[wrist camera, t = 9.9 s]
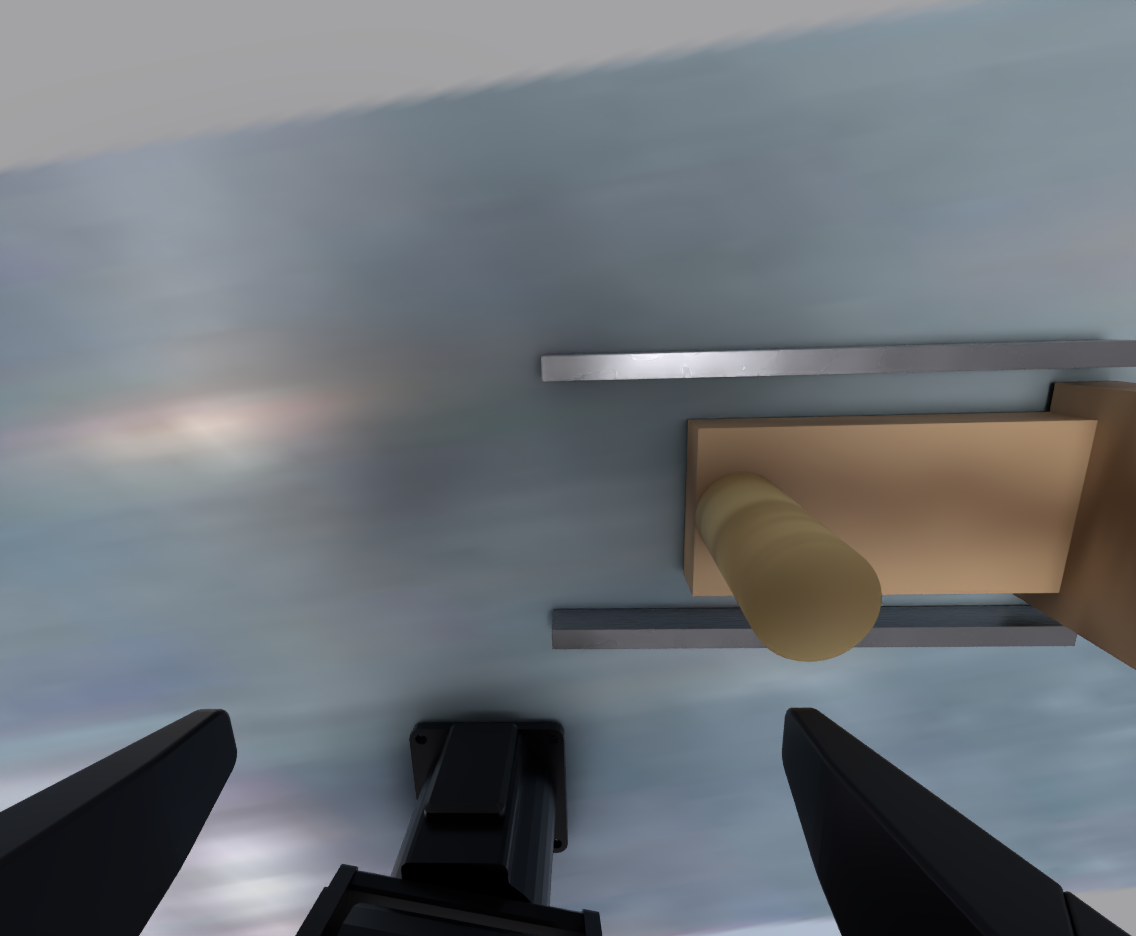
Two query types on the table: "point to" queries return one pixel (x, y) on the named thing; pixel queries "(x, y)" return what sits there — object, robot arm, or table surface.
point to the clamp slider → (918, 516)
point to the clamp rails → (892, 622)
